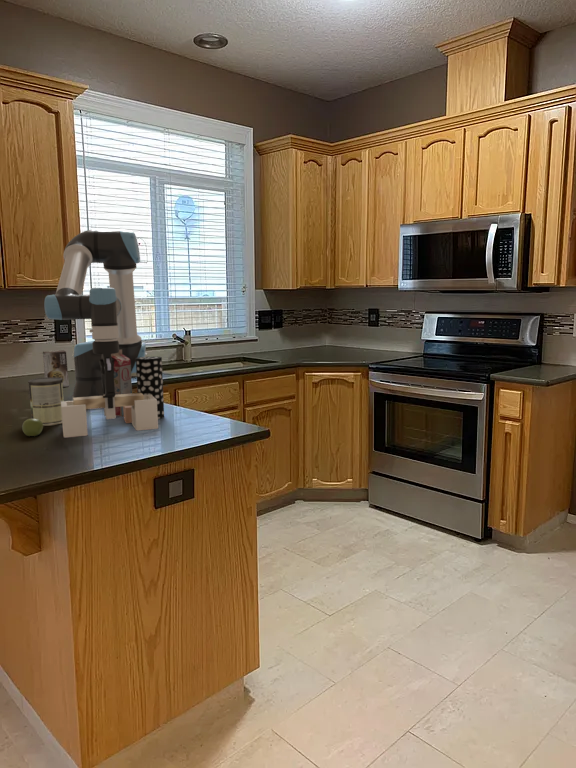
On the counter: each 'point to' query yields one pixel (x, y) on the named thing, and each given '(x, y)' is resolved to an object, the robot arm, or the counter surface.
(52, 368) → the coffee box
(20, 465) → the counter surface
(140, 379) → the spotted tube
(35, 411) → the coffee can
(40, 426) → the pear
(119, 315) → the robot arm
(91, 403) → the birch slat
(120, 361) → the juice carton
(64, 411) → the end caps
